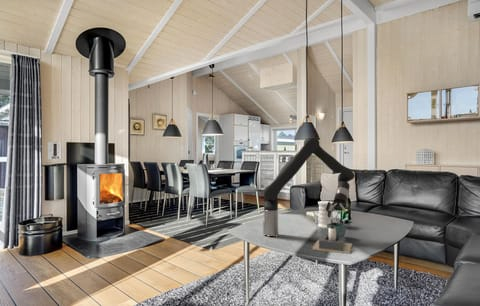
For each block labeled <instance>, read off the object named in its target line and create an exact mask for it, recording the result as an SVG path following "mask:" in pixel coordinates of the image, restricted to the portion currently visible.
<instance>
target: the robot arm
mask: <svg viewBox="0 0 480 306" xmlns="http://www.w3.org/2000/svg"><path fill="white" fill-rule="evenodd" d="M313 154H314V156H316V157H317V158H318V159H319V160H320V161H321V162H323V164H324V165H325V166H327V168H329V169H330V170H331V171H332V172H333V174H338V173H339V175H338V176H337V188H336V192H335V194H334V198H333V201H332V202H333V203H330V202H331V201H330V202H328V204H327V207H326V211H327V212H328V217H329V218H330V216H331V212H333V213H334V212H335V211H342V212H343V213H342V220H345V219H346V218H347V215H350V214H351V213H352V212H351V210H352V204H351V203H347V202H348V198H349V190H350V186H351V185H350V183H349V182H350V181H352V180H354V178H355V173H354V171H353V170H352V169H350V168H348V167H346V166H345V165H344V164H343V165H342V164H341V163H340V162H339V161H338V160H337V159H336V158H335V157H334V156H332V155H331V154H329V153H328V152H327V151H326V150H325V149H323V147H321V145H320V141H319V139H318V138H317V137H314V136H311V137H310V136H309V137H307V138H305V140H304V141H303V145H302V147H301V148H300V149H299V151H298V152H297V153H296V154H295V155H293V156H292V157H291V158H290V159H289V160H288V161H287V162H286V163H285V164H284V166H283V167H282V168H281V170H280V171H279V172H278V175H276V177H275V179H274V180H273V181H272V182H271V183H270V184H269V185H267V186H266V187H264V189H263V214H264V215H263V217H264V218H263V223H262V225H263V226H262V227H263V229H262V230H263V235H264V234H265V235H269V236H276V235H278V236H279V206H278V202H279V199H278V198H279V197H278V196H279V194H280V193H281V191H282V190H283V188H284V187H285V185H287V183H289V182H290V181H291V180H292V179H293V178H294V177H295V175H297V173H298V172H299V171H300V169H301V168H302V167H303V165H304V164H305V163H306V161H307V160H308V159H309V158H310V157H311V156H312V155H313ZM331 206H332V207H331ZM330 207H331V208H330ZM345 208H347V209H345ZM276 237H277V236H276Z"/></svg>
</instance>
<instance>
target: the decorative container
mask: <svg viewBox="0 0 480 306" xmlns="http://www.w3.org/2000/svg"><path fill="white" fill-rule="evenodd" d="M328 202H330V203H333V202H334V201H327V200H322V201H320V200H319V201H317V204H318V222H319V223H317V227H318V226H319V227H318V228H320V227H321V228H320V229H327V224H330V223H331V220H333V219H334V215H333V214H334V211H333V212H331V216H330V218H329V217H328V212H327V211H326V207H327V204H328ZM332 206H333V205H332ZM332 206H331V207H332ZM331 207H330V208H331ZM333 221H334V220H333Z"/></svg>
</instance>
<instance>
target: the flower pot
mask: <svg viewBox="0 0 480 306" xmlns="http://www.w3.org/2000/svg"><path fill="white" fill-rule="evenodd" d="M330 225H331V223H330V224H327V228H326V230H327V233H328V234H329V231H328V228H330ZM333 225H334V228H336V236H340V237H345V234H346V231H347V229H346V228H347V223H346V224H345V223H340V222H335V221H333Z"/></svg>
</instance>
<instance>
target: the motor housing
mask: <svg viewBox="0 0 480 306" xmlns="http://www.w3.org/2000/svg"><path fill="white" fill-rule="evenodd" d="M352 247H353V243H347V242H346V236H344V237H340V236H336V241H332V240H329V234H322V235H321V237H320V238H319V239H317V240H316V242H315V243H314V245H313V246H312V247H311V249H312V250H313V251H320V252H321V251H323V252H329V253H340V254H347V255H348V254H349V255H351V251H352Z"/></svg>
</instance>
